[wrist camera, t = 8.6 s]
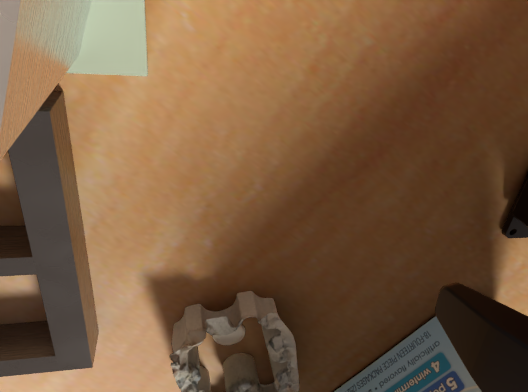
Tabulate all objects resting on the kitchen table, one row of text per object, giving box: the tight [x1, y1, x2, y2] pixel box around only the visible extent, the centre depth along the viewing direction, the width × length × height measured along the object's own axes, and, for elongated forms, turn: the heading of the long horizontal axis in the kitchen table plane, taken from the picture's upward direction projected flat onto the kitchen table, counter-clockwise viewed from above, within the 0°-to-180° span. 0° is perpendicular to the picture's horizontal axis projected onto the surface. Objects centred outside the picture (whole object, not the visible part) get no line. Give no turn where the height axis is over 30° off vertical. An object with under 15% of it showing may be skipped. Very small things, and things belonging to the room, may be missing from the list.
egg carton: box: [170, 291, 299, 392], centre depth 27 cm, size 10×7×4 cm
